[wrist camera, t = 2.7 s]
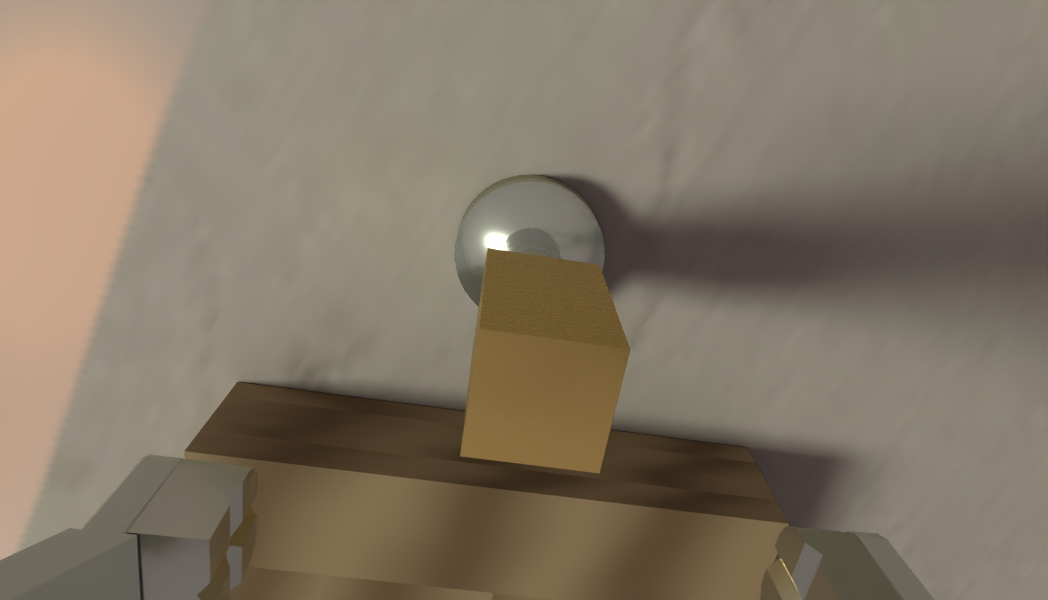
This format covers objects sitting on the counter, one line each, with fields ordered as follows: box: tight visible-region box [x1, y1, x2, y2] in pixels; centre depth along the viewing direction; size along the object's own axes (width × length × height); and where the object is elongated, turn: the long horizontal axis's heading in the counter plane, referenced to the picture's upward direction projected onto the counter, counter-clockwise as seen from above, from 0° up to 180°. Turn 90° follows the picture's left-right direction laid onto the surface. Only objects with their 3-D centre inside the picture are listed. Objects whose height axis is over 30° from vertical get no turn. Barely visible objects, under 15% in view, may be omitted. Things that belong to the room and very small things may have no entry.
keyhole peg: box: [455, 175, 630, 473], centre depth 18 cm, size 5×5×10 cm
